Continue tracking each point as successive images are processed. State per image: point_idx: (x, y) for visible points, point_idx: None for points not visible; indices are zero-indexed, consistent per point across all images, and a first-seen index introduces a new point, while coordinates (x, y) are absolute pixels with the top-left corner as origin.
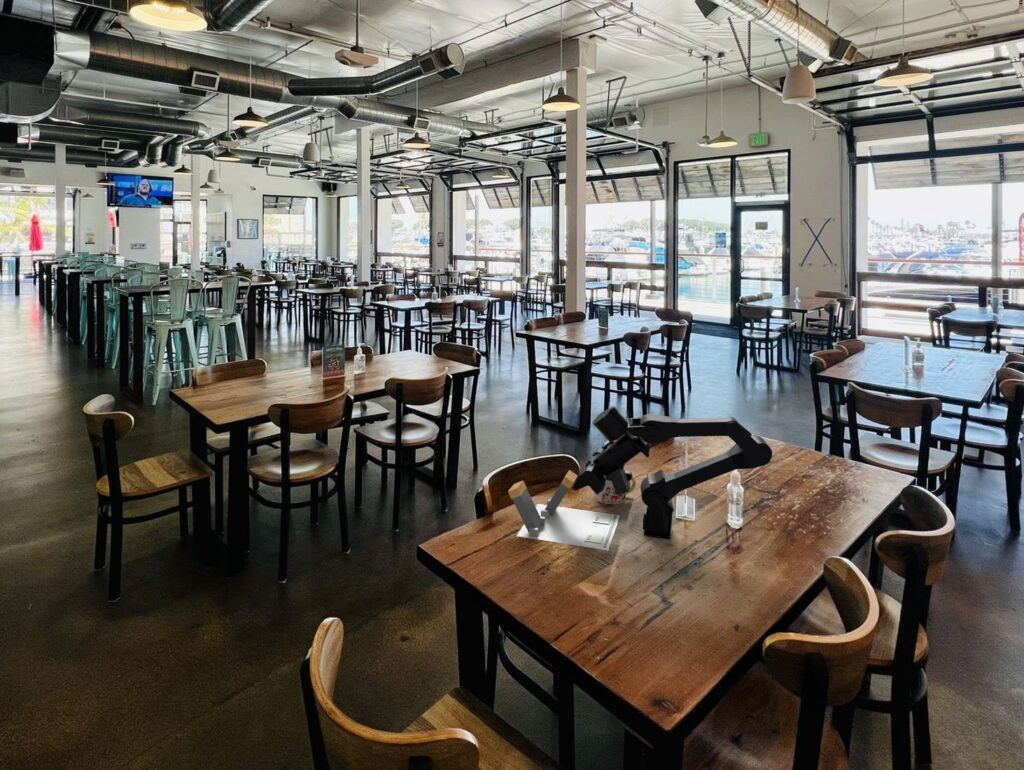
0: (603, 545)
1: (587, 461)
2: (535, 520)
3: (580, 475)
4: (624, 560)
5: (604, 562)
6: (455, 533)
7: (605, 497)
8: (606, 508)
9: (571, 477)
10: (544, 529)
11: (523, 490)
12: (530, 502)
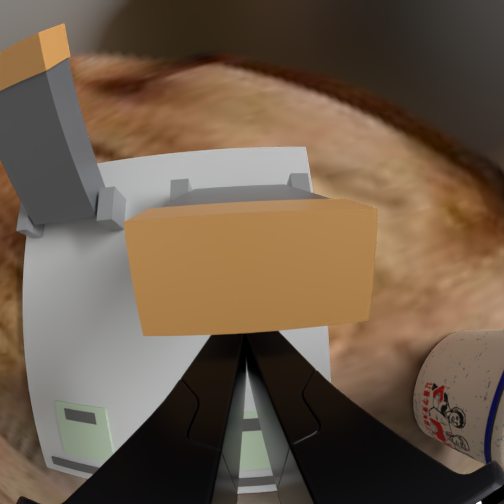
0: (63, 457)
1: (463, 498)
2: (39, 201)
3: (145, 428)
4: (62, 496)
5: (28, 448)
6: (80, 58)
7: (436, 400)
8: (413, 396)
9: (225, 286)
10: (86, 240)
11: (6, 82)
12: (39, 137)
